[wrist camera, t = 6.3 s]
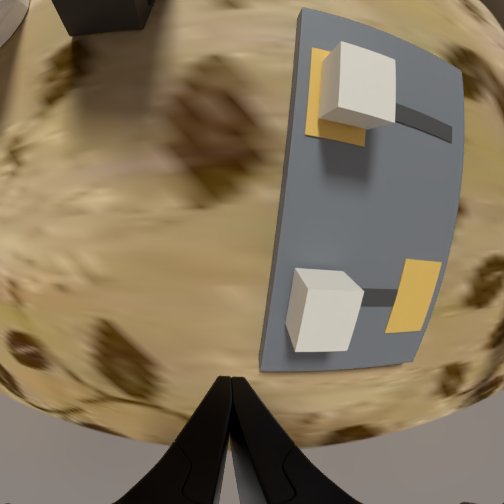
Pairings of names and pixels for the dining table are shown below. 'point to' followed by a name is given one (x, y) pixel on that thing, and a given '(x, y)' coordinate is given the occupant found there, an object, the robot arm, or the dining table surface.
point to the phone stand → (102, 15)
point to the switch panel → (367, 199)
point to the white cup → (11, 17)
